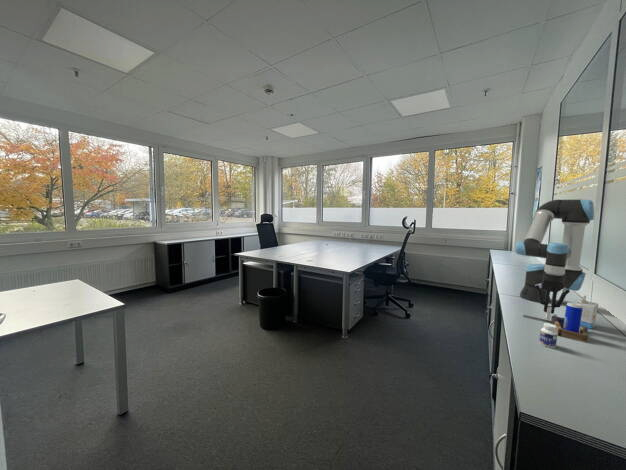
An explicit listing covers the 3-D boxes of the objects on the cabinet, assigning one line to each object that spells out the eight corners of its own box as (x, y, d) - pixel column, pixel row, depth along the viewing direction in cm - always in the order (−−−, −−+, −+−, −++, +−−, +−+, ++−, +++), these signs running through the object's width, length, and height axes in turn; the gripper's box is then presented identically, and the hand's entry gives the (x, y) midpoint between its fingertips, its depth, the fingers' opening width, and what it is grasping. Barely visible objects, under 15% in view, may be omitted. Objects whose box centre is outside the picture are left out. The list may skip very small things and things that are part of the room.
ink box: (591, 329, 125) (596, 300, 124) (577, 325, 129) (581, 297, 128) (595, 325, 130) (599, 297, 128) (581, 321, 134) (585, 294, 132)
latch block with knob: (550, 323, 130) (551, 313, 130) (576, 329, 125) (578, 319, 124) (551, 324, 129) (552, 314, 128) (577, 330, 123) (579, 320, 122)
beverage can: (562, 331, 122) (567, 301, 121) (578, 335, 119) (582, 304, 117) (562, 334, 119) (566, 303, 117) (578, 339, 115) (583, 307, 113)
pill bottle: (536, 342, 110) (538, 323, 109) (543, 340, 112) (545, 321, 111) (551, 349, 105) (554, 328, 105) (558, 347, 108) (561, 326, 107)
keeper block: (523, 316, 138) (523, 311, 138) (585, 330, 124) (585, 324, 124) (524, 327, 125) (525, 321, 125) (594, 344, 111) (595, 337, 110)
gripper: (537, 272, 129) (531, 317, 131) (573, 277, 121) (566, 325, 124) (536, 270, 135) (530, 313, 137) (570, 274, 127) (564, 320, 130)
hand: (547, 318), depth 131 cm, fingers closed
